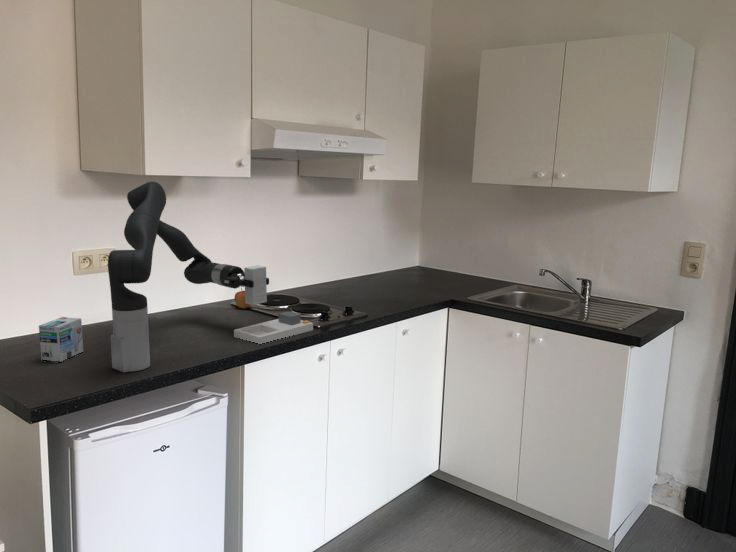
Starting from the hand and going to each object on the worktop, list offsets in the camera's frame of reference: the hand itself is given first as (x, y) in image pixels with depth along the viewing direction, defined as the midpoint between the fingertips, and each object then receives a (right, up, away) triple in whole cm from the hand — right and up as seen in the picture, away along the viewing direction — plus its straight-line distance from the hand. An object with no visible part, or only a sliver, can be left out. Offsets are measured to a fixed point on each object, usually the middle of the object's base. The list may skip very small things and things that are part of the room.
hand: (260, 282), depth 202 cm
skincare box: (-2, -7, +3) cm, 8 cm away
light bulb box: (-55, -22, -19) cm, 62 cm away
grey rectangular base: (+3, -17, +9) cm, 20 cm away
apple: (-14, -11, +44) cm, 47 cm away
